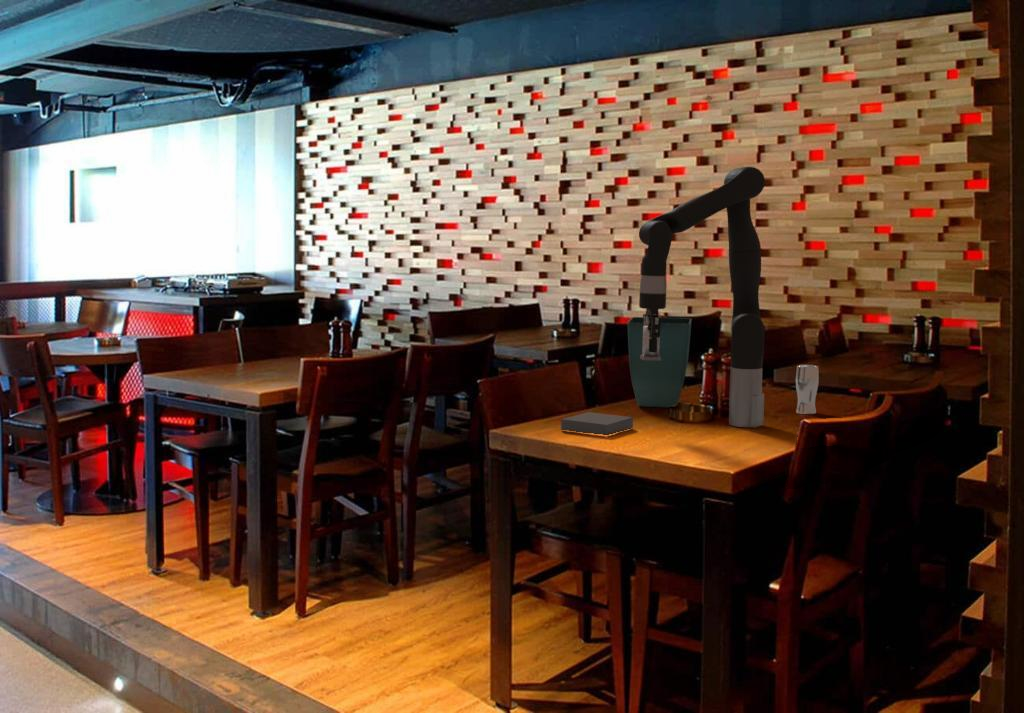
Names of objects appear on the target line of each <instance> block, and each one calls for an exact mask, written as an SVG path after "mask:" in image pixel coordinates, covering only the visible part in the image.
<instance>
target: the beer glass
mask: <svg viewBox="0 0 1024 713" xmlns="http://www.w3.org/2000/svg"><path fill="white" fill-rule="evenodd" d="M819 374H820V373H819V365H816V364H815V365H814V364H798V365H796V373H795V388H796V395H797V405H796V410H795V412H796V413H797V414H800V415H815V414H817V409H816V397H817V393H818V388H819V383H820V382H819V381H820V380H819V379H820V377H819V376H820V375H819Z"/></svg>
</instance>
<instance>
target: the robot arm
mask: <svg viewBox="0 0 1024 713" xmlns="http://www.w3.org/2000/svg"><path fill="white" fill-rule="evenodd" d="M765 179H766V178H765V175H764V174H763V172H762V171H761V170H760V169H759V168H756V167H753V166H744V167H740V168H739V167H738V168H734V169H731V170H730V171H729V172H727V174H726V175H725V177H724V180H723V184H722V185H720V186H719V187H718V188H715V189H712V190H711V191H709V192H706V193H703V194H701V195H698V196H696V197H693V198H692V199H689V200H688V201H685V202H684V203H682V204H680V205H678V206H677V207H675V208H673V209H672V210H670V211H669V212H666V213H663V214H660V215H658V216H655V217H654V218H651V219H649V220H647V221H646V222H644V223H643V224H642V225H641V227H639V231H638V237H639V240H640V242H641V243H643V244H644V245H646V246H647V251H646V254H645V255H644V256H643V257H642V259H641V270H640V272H641V273H640V282H639V299H638V300H639V302H638V303H639V304H638V307H639V308H640V309H645V313H643V315H642V317H643V326H645V321H646V322H647V331H648V332H649V352H657V339H658V338H659V337H660V328H661V320H662V319H661V318H662V317H661V315H660V314H659V312H660V311H659V310H662V309H663V310H665V309H666V307H667V289H668V288H667V262H668V261H667V260H668V257H669V253H670V249H671V245H672V236H673V235H675V234H679V233H682V232H685V231H687V230H689V229H691V228H693V227H694V226H695V227H696V226H697V225H698V224H700V223H701V222H703V221H705V220H707V219H708V218H710V217H712V216H713V215H716V214H717V213H719V212H721V211H723V210H725V209H726V215H727V236H728V267H729V268H728V269H729V276H730V283H731V289H732V299H733V300H732V304H733V305H732V318H731V326H730V330H731V350H730V351H731V352H730V374H729V404H728V406H729V408H728V412H729V414H728V425H730V426H731V427H732V426H733V427H738V428H758V427H761V426H764V415H765V414H764V413H765V412H764V411H765V393H764V392H763V366H764V364H763V363H764V353H765V352H764V351H765V324H764V323H763V320H762V317H761V309H760V301H759V290H760V284H761V277H762V276H761V275H762V274H761V273H762V251H761V250H762V248H761V241H760V238H759V235H758V233H757V230H756V228H755V226H754V223H753V220H752V215H751V199H755V198H756V197H757V196H759V195H760V194H761V193H762V191H763V190H764V188H765V184H766V180H765ZM650 327H651V328H650ZM653 331H656V333H653Z"/></svg>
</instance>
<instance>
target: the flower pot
mask: <svg viewBox="0 0 1024 713" xmlns="http://www.w3.org/2000/svg"><path fill="white" fill-rule="evenodd" d="M661 319H662V320H661V328H660V343H659V356H660V357H661V361H656V360H642V359H641V358H640V355H642V345H643V316H640V317H638V316H633V317H631V318H630V319H629V320H628V321H627V341H628V342H627V344H628V345H627V347H628V365H629V371H630V372H629V373H630V380H631V386H632V388H633V389H632V390H633V393H634V397H635V400H636V403H637V406H638V407H644V408H645V407H648V408H669V407H670V406H672V405H675V404H677V405H678V404H679V401H680V398H681V394H682V391H683V387H684V382H685V377H686V373H687V368H688V362H689V353H690V345H691V343H690V342H691V334H692V333H691V331H692V320H693V319H692V318H685V317H682V318H681V317H661Z"/></svg>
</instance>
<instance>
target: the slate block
mask: <svg viewBox="0 0 1024 713" xmlns="http://www.w3.org/2000/svg"><path fill="white" fill-rule="evenodd" d="M560 422H561V425H560V431H561V430H569V431H576V432H583V433H594V434H603V435H609V434H613V433H616V432H620V431H624V430H627V429H631V428H633V429H634V417H633V416H632V417H631V416H625V415H618V414H617V415H616V414H608V413H607V414H606V413H600V412H592V411H591V412H590V411H588V412H585V413H579V414H576V415H572V416H568V417H565V418H561V419H560Z"/></svg>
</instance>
